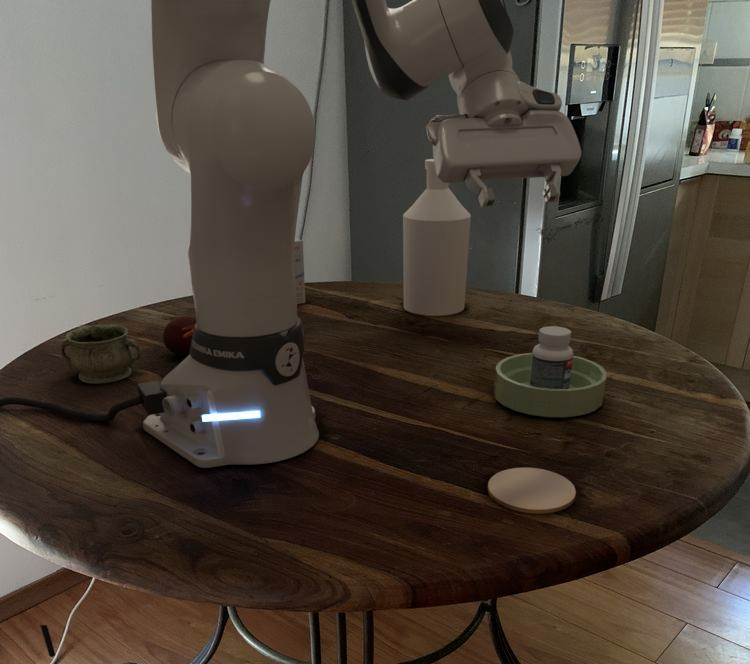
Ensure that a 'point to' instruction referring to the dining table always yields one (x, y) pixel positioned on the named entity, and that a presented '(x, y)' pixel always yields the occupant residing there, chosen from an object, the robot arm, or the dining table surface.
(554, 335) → the pill bottle
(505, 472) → the coaster
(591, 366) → the bowl
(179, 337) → the red tomato
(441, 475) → the dining table surface
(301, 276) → the ink box
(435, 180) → the bottle
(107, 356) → the vessel
